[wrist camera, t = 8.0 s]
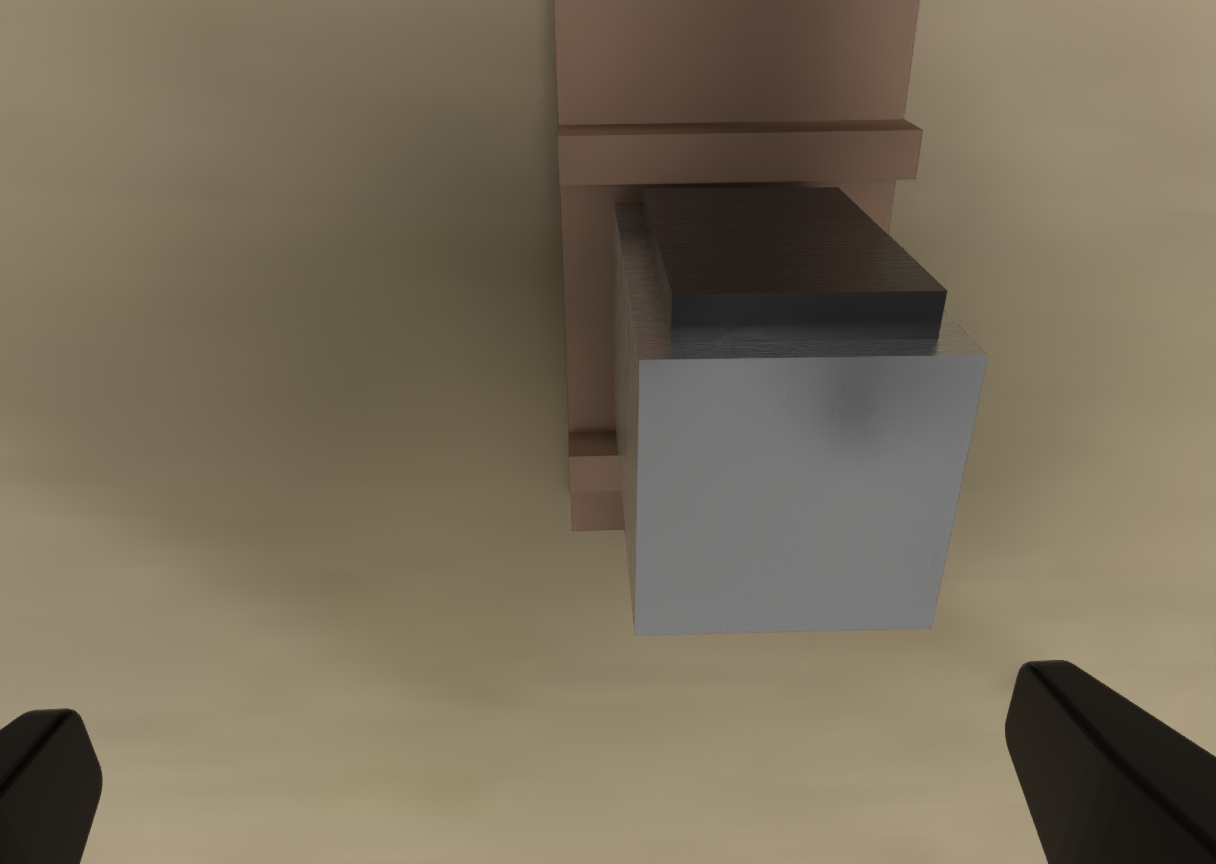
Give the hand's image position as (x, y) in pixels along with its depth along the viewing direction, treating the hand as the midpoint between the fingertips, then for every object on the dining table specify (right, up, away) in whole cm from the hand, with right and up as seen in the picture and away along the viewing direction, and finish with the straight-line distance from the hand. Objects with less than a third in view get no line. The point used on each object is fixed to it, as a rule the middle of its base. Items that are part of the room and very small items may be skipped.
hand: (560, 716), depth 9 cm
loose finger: (+3, +5, +9) cm, 10 cm away
